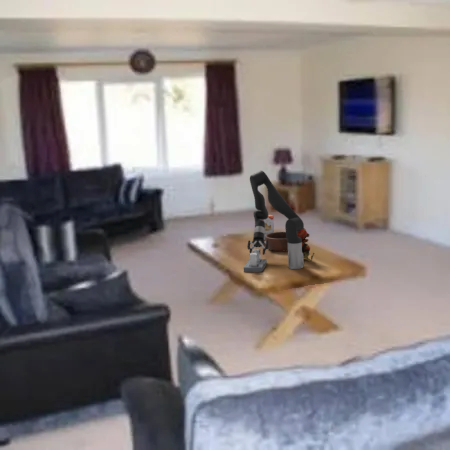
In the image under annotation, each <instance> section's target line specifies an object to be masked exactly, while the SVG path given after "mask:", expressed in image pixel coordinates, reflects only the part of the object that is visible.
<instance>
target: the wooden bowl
mask: <svg viewBox="0 0 450 450" xmlns="http://www.w3.org/2000/svg"><path fill="white" fill-rule="evenodd" d="M265 240H266V241H267V240H268V250H270V251H271V252H273V251H274V252H288V241H287V238H286V231H274V233H269V234H267V235H266V236H265Z"/></svg>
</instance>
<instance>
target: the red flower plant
mask: <svg viewBox="0 0 450 450" xmlns="http://www.w3.org/2000/svg"><path fill="white" fill-rule="evenodd" d="M297 236H298V237H301V239H302V253H303V260H307V261H308V262H311V261H312V260H313V259H314V255H315V252H312V255H311V256H310V250H311V246H310V245H309V243H308V242H309V239H308V238H310V233H309V232H308V231H307V229H306V228H305V227H304V228H303V229H302V230H301V231H298V232H297ZM309 256H310V258H309Z"/></svg>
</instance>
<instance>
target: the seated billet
mask: <svg viewBox="0 0 450 450" xmlns="http://www.w3.org/2000/svg"><path fill="white" fill-rule="evenodd" d="M249 259H250V267H258V256H257V253H253V252H252V253H250V252H249Z"/></svg>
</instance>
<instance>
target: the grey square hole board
mask: <svg viewBox="0 0 450 450" xmlns="http://www.w3.org/2000/svg"><path fill="white" fill-rule="evenodd" d="M267 261H268V259H267V258H261V262H258V267H250V258H249V259H248V260H247V261H246V264H245V265H244V266H243V273H262V272H263V270H264V269H265V267H266V265H267Z"/></svg>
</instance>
